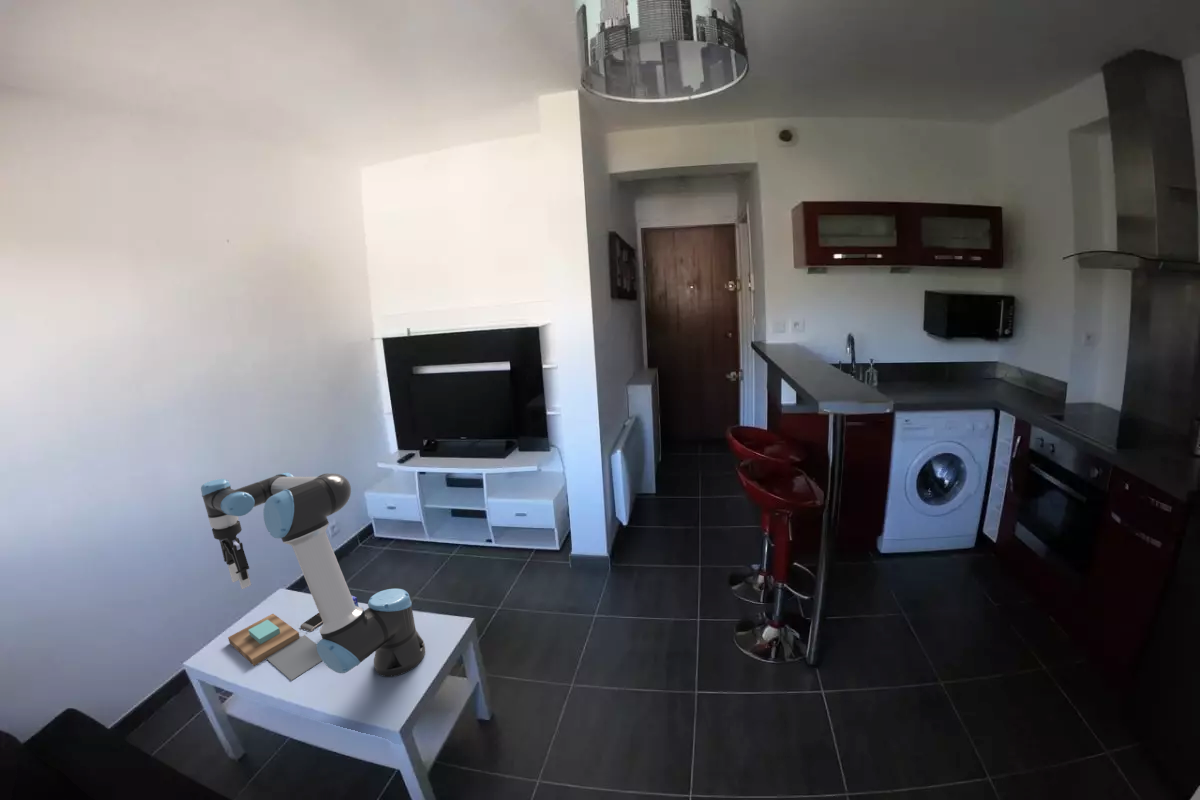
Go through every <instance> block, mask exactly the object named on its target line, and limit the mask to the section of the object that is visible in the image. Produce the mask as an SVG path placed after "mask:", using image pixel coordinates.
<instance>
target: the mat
mask: <svg viewBox="0 0 1200 800" xmlns="http://www.w3.org/2000/svg"><path fill="white" fill-rule="evenodd" d="M265 660H267V661H268V662H269V663H271V665H272V666H273V667H275V668H276V669H277V670H278V671H280V673H282V675H284V676H285V677H286V678H288V679H289V680H290V682H292V681H294V680H295V679H297V678H298V677H300V676H301V675H303V674H304V673H306V672H307V671H309V670H310V669H312V668H314V667H315V666H317V665H318V664H319V663H322V662H323V661H322V659H321V658H320V656H319V654H318V652H317V643H316V642H315V641H313V640H312V639H311V638H309V637H308V636H307V635H305V634H304V635H302V636H301V637H300V638H299V639H297V640H295V641H294V642H292V643H290V644H289V645H287V646H285V647H284V648H282V649H280V650H279V651H277V652H275V653H273V654H272V655H270V656H268V657H267V658H266V659H265Z"/></svg>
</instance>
